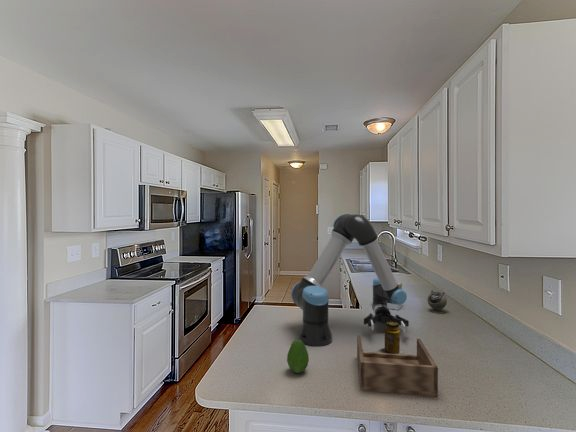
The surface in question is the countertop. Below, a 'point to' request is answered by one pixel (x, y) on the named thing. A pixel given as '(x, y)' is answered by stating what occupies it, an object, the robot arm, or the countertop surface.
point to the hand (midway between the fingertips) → (388, 328)
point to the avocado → (297, 356)
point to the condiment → (392, 339)
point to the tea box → (392, 305)
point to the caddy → (398, 371)
